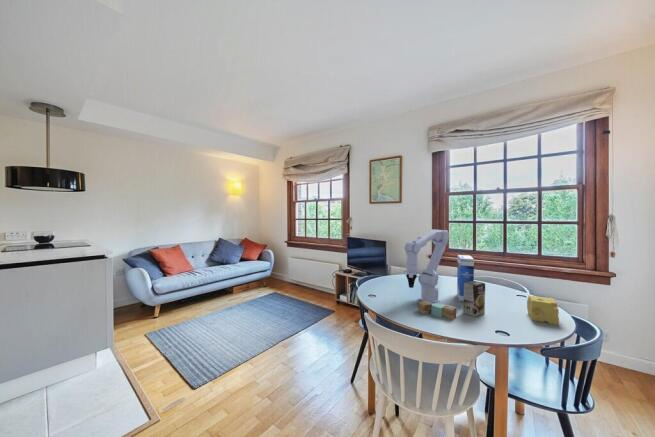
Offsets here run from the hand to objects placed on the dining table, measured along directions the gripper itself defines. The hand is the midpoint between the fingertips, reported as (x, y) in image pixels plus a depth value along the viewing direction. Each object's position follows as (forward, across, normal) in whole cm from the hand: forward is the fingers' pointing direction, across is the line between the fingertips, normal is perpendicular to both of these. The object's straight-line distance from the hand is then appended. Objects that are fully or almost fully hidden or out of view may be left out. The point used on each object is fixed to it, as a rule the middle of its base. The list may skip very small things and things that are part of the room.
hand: (411, 287), depth 139 cm
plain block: (+10, +7, +14) cm, 19 cm away
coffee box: (+10, -2, +32) cm, 33 cm away
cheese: (+10, -7, +62) cm, 63 cm away
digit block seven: (+10, +8, +19) cm, 23 cm away
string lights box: (+10, -25, +30) cm, 40 cm away
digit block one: (+11, +6, +8) cm, 14 cm away
